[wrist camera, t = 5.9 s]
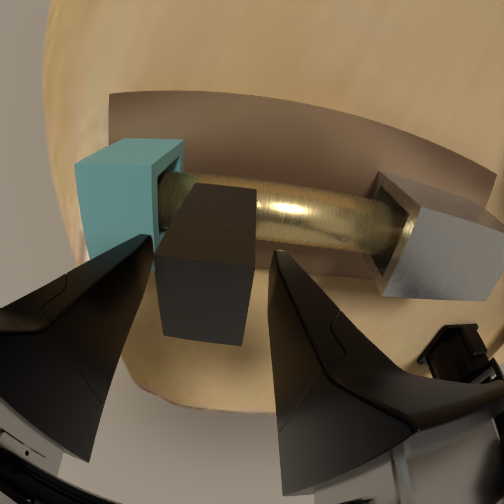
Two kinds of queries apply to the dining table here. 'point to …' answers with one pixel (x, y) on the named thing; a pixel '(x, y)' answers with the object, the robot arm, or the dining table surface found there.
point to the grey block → (438, 245)
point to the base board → (293, 154)
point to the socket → (124, 191)
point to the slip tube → (247, 242)
